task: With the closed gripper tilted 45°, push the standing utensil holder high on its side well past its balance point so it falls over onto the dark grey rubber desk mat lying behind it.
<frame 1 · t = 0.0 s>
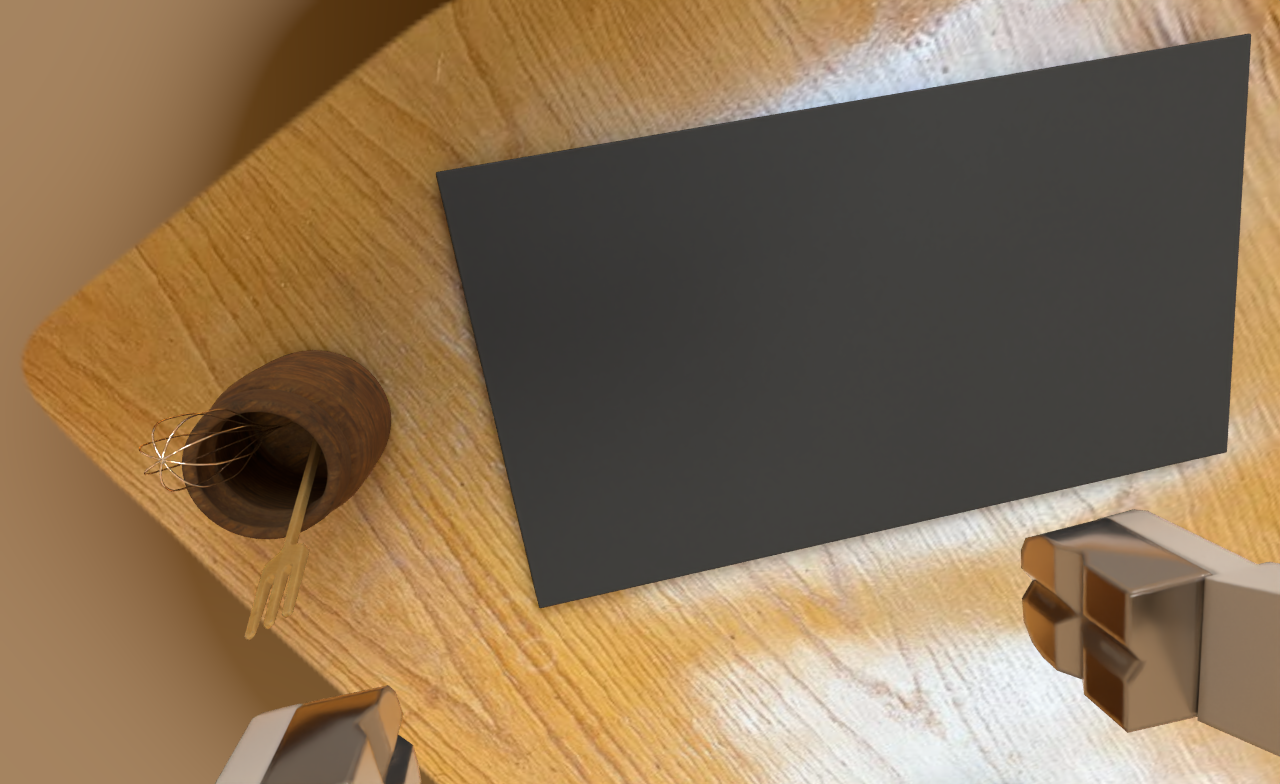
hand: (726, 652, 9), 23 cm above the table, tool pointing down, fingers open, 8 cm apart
utensil holder: (326, 415, 31), on the table
desk mat: (877, 328, 33), on the table
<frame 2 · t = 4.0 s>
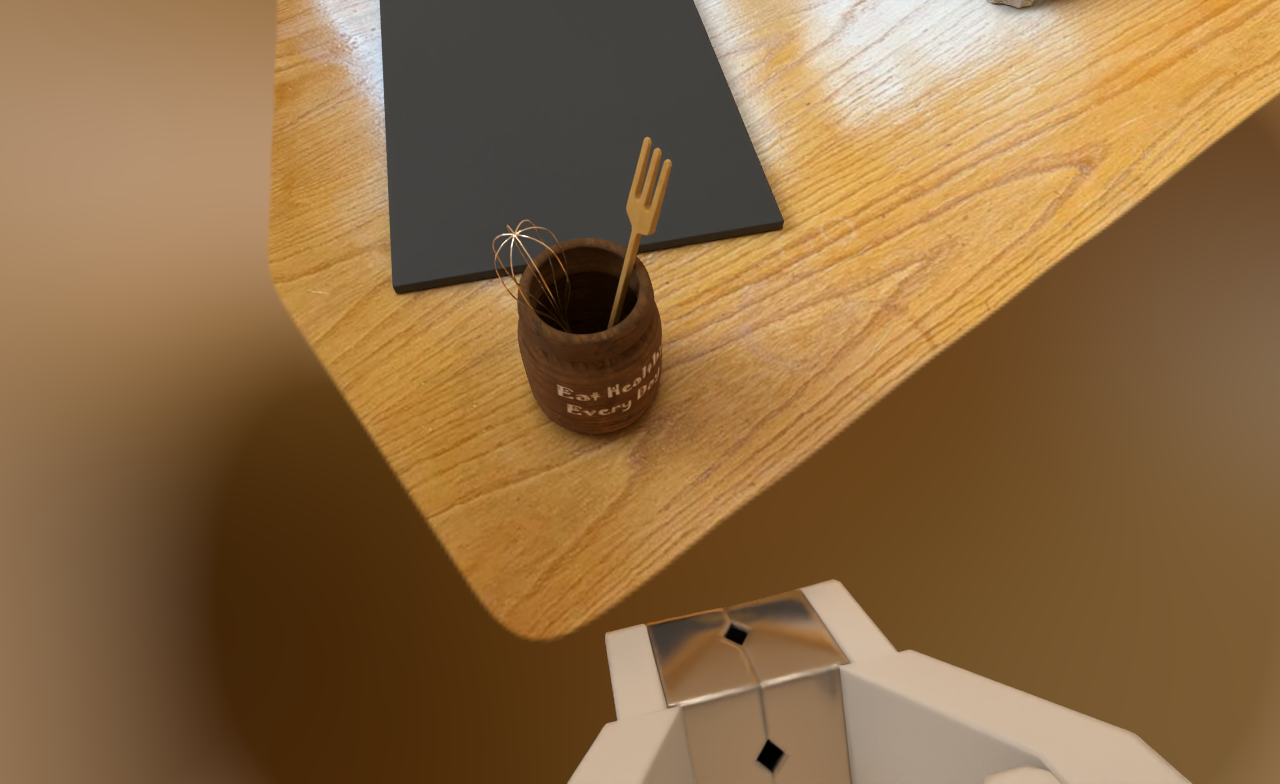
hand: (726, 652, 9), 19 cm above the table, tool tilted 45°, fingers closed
utensil holder: (599, 382, 33), on the table
desk mat: (545, 43, 45), on the table
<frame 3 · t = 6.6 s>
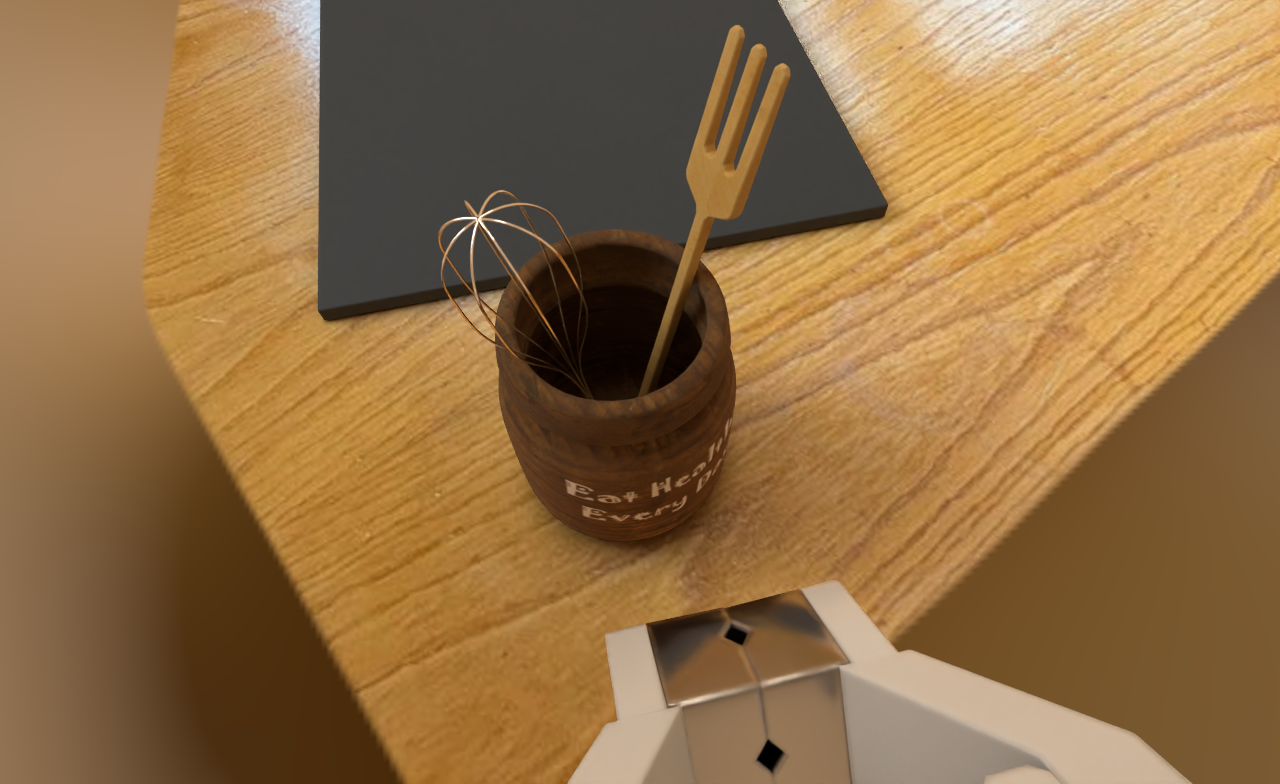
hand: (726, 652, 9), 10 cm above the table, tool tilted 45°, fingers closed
utensil holder: (628, 452, 21), on the table
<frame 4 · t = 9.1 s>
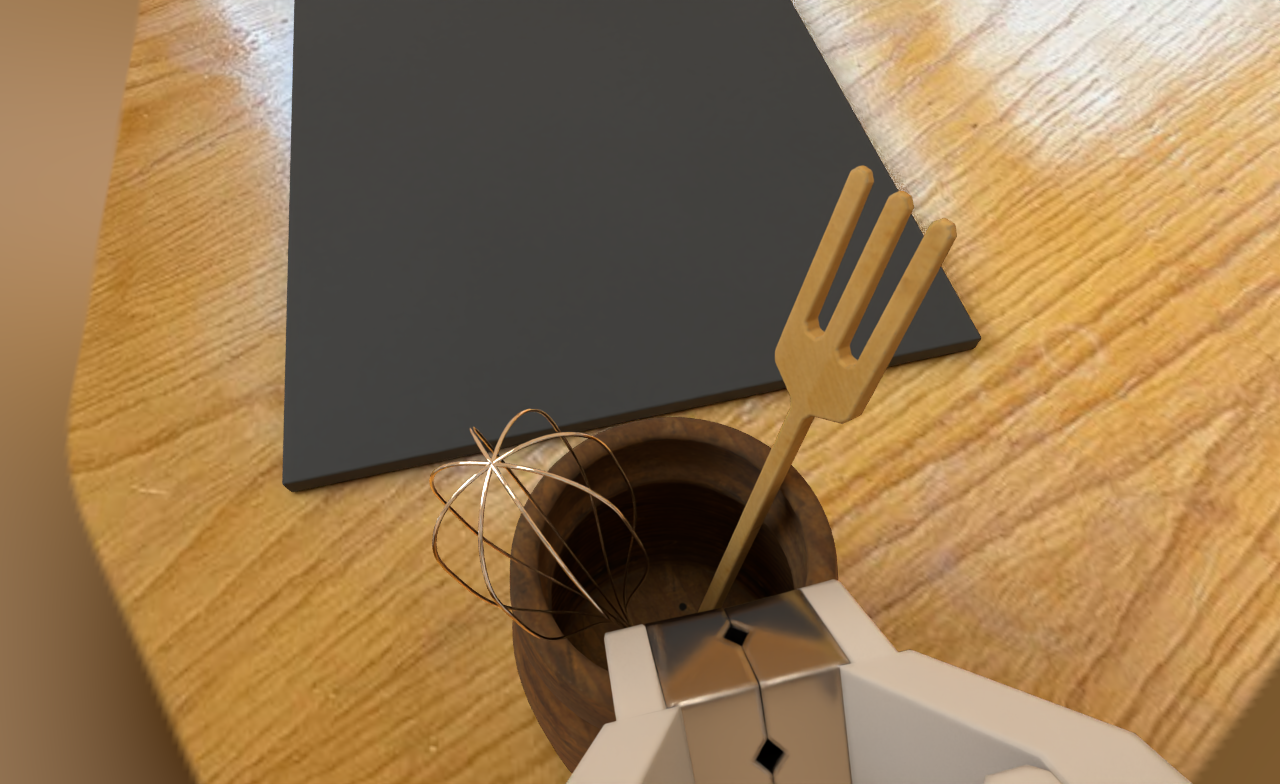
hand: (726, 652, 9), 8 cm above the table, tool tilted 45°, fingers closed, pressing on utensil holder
utensil holder: (677, 680, 16), on the table, touching gripper
desk mat: (548, 38, 29), on the table
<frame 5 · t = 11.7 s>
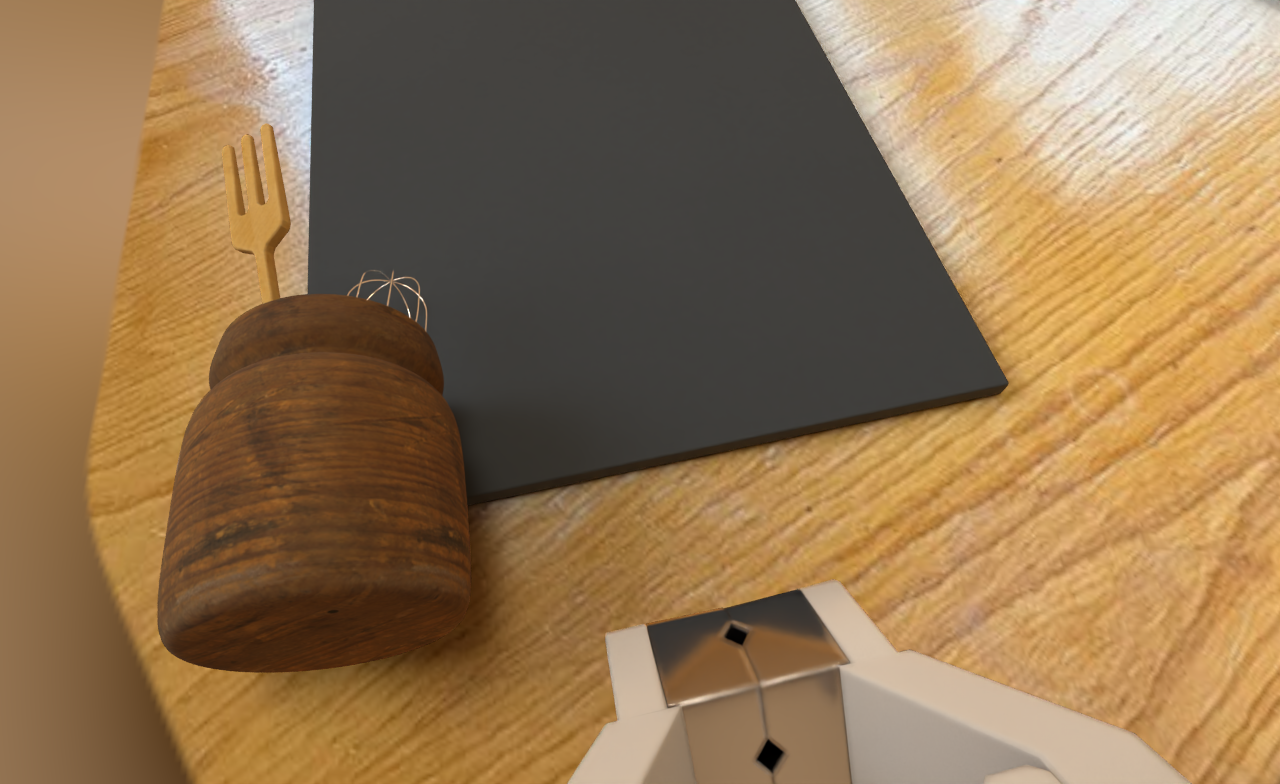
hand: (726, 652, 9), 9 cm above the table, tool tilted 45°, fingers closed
utensil holder: (320, 647, 14), point 4 cm above the table, touching desk mat
desk mat: (567, 67, 29), on the table
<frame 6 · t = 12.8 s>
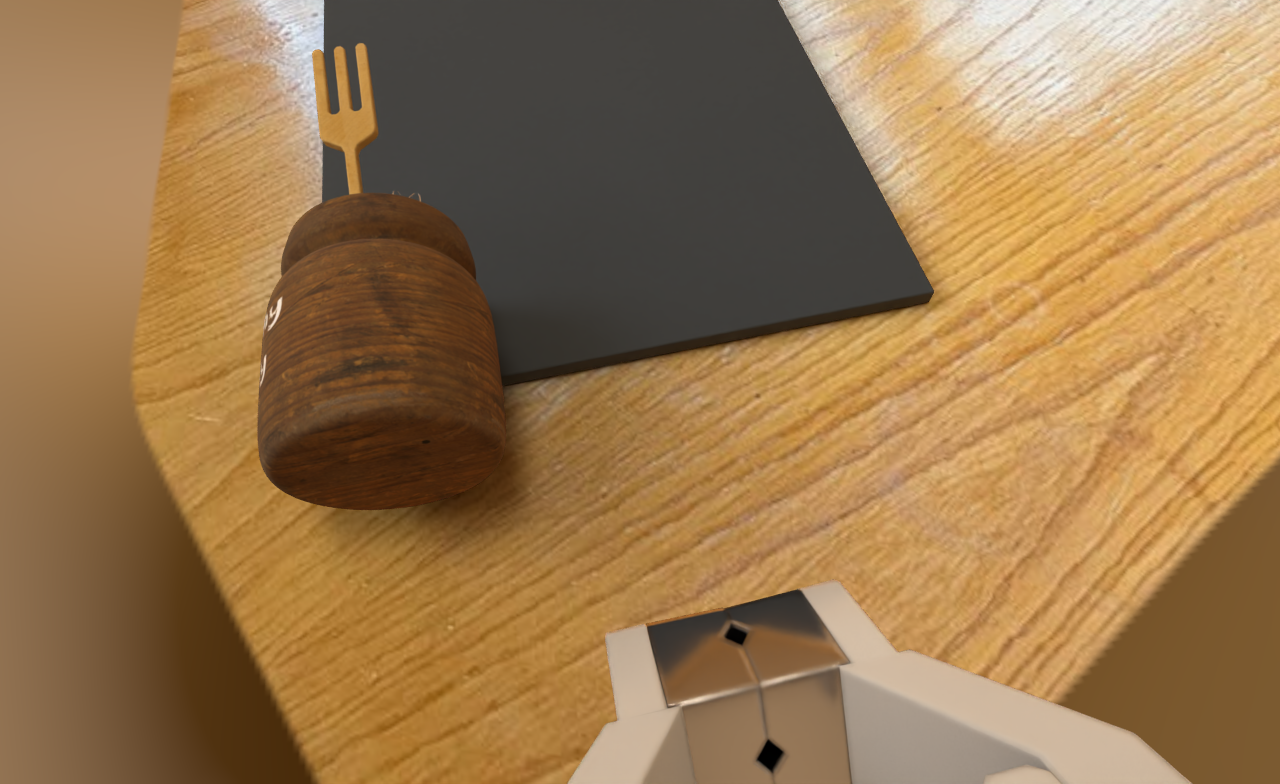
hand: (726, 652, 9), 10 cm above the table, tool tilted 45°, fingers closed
utensil holder: (388, 476, 17), point 4 cm above the table, touching desk mat
desk mat: (554, 30, 32), on the table
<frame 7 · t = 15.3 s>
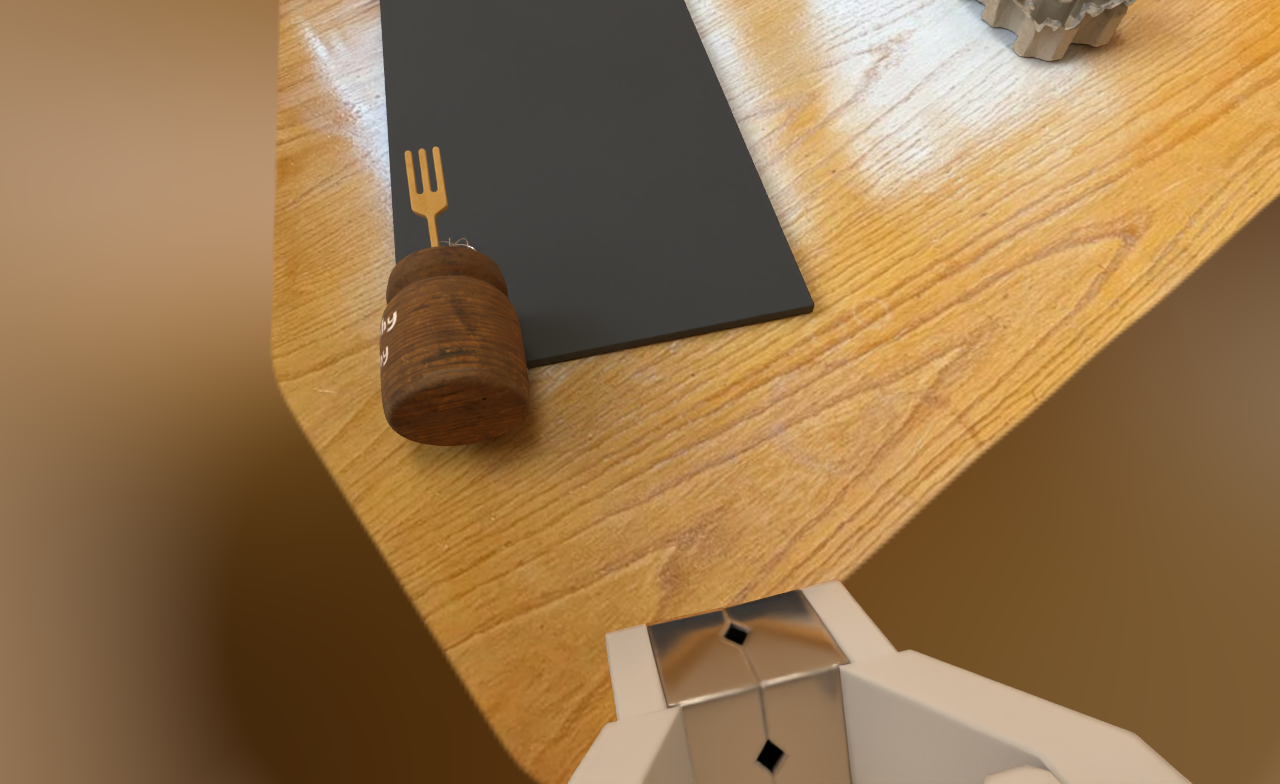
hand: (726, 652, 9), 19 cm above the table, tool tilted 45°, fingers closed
utensil holder: (459, 420, 28), point 4 cm above the table, touching desk mat
desk mat: (556, 109, 43), on the table
egg carton: (1027, 13, 47), on the table
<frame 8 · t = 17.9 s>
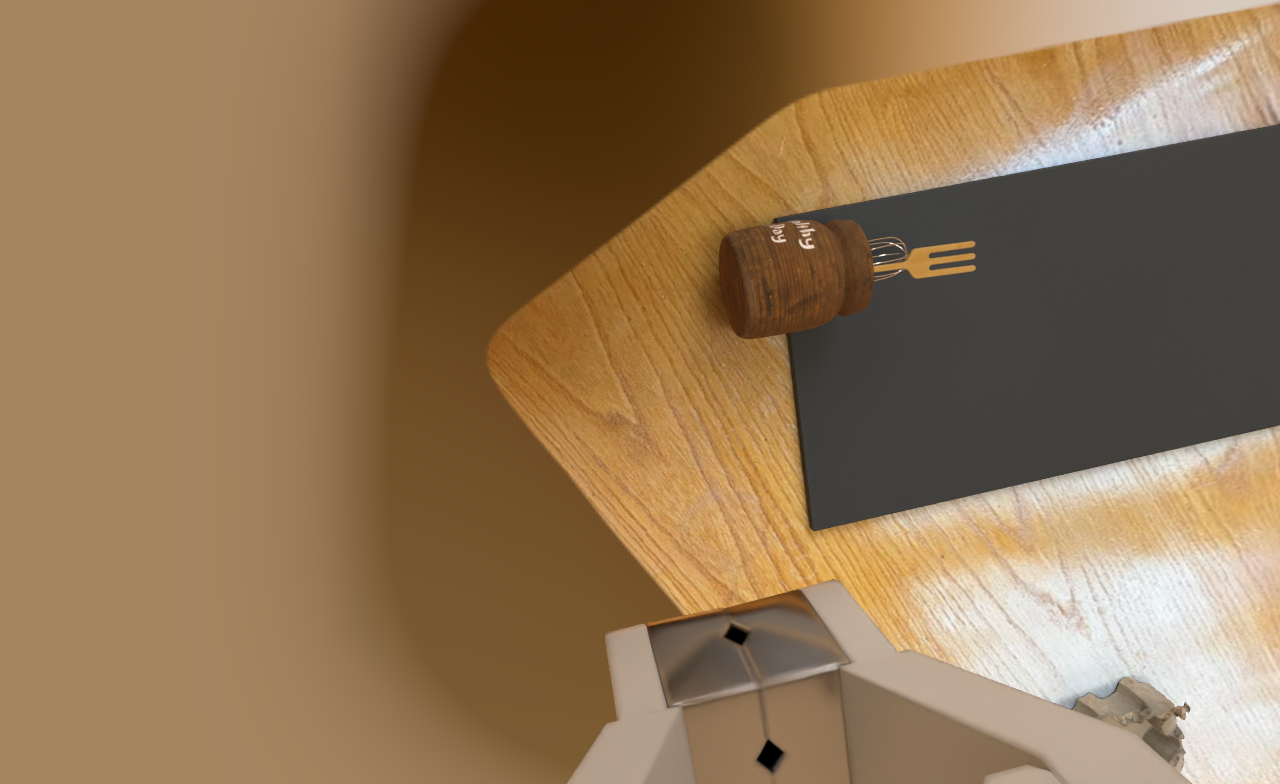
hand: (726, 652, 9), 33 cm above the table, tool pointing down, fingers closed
utensil holder: (727, 288, 38), point 4 cm above the table, touching desk mat
desk mat: (1061, 326, 45), on the table
egg carton: (1088, 727, 54), on the table
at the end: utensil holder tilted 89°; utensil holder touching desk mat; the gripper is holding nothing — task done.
